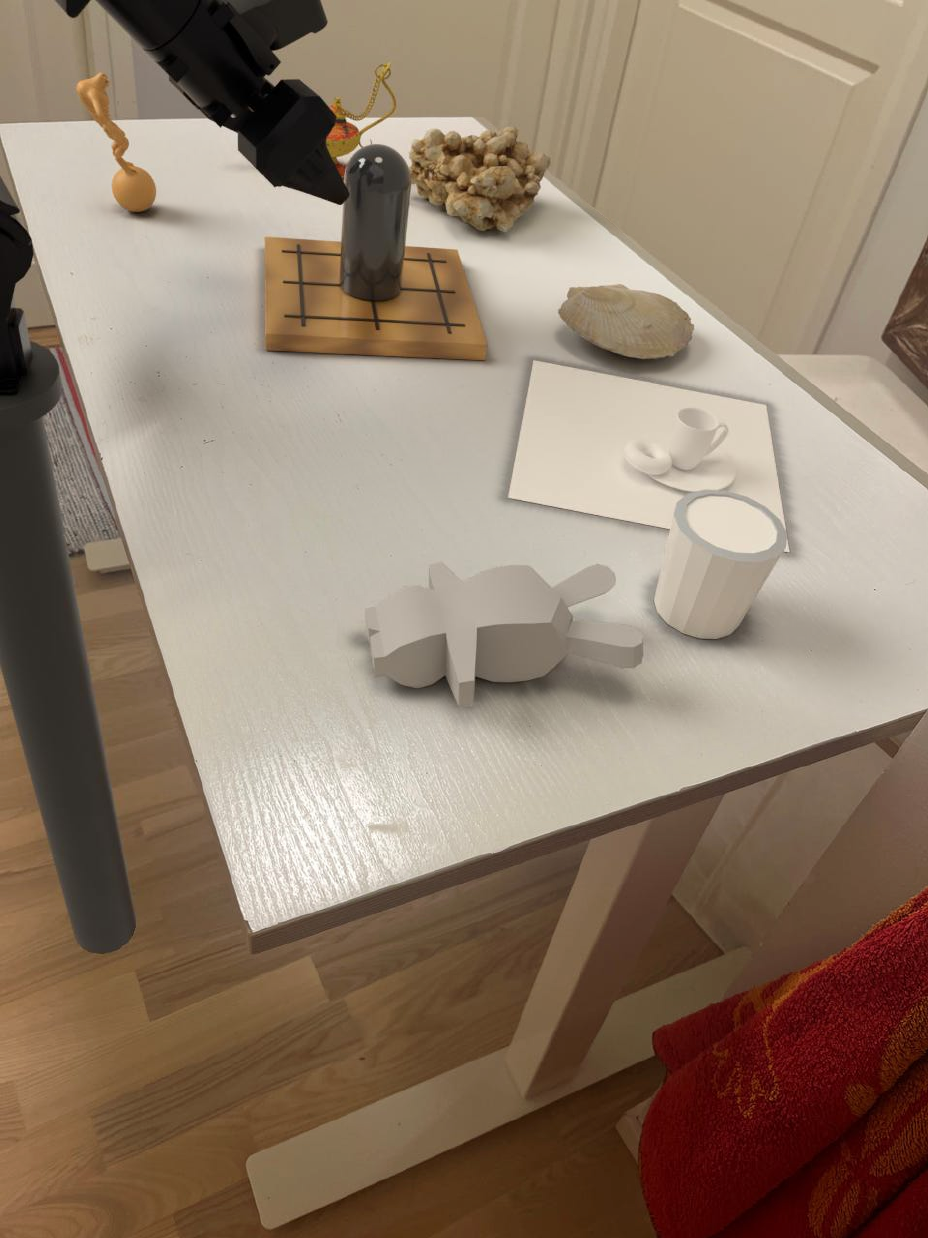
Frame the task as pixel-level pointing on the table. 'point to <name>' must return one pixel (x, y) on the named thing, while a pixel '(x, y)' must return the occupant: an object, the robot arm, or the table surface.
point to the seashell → (627, 320)
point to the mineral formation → (478, 175)
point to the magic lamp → (348, 134)
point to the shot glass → (716, 561)
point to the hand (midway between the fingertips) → (319, 175)
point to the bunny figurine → (492, 628)
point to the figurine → (117, 148)
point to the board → (368, 305)
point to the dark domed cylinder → (374, 223)
